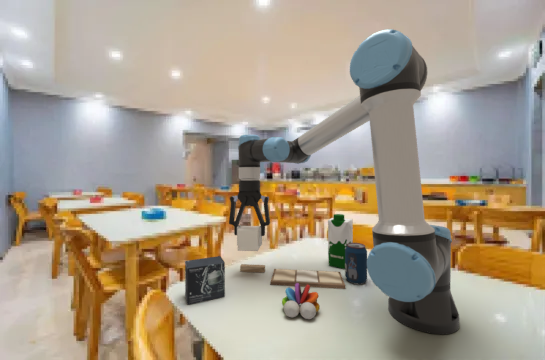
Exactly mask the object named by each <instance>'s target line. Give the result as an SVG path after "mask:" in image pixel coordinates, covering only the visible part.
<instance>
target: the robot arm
mask: <svg viewBox="0 0 545 360" xmlns="http://www.w3.org/2000/svg"><path fill="white" fill-rule="evenodd" d="M349 75H350V78H351V80H352V82H353V84H355V86H357V87H358V89H359V90H358V91H359V96H357V97H355V98H354V99H353V100H351V101H350V102H348V103H347V104H345V105H344V106H342V107H341V108H340V109H338V110H336V111H335V112H333V113H332V114H330V115H329V116H328V117H326V118H324V119H323V120H321V121H320V122H319V123H318V124H316V125H314V126H313V127H311V128H310V129H309V130H307V131H306V132H304V133H303V134H301V135H300V136H298V137H297V138H296V139H294V140H291V141H290V140H286V139H285V138H284V137H280V136H279V137H276V136H273V137H268V138H262V139H261V137H260V135H257V134H242V135H240V136H239V137H238V146H237V147H238V179H239V181H238V193H237V195H235V196H234V195H232V196H230V197H229V200H230V210H229V217H228V224H229V225H232V226H233V228H234V229H233V233H234V234H233V235H234V236H237V230H238V229H239V228H241V227H242V225H241V224H240V222H241V219H242V218H243V217H242V216H243V215H244V211H245V210H246V209H245V208H246V207H253V209H254V212H255V214H256V216H257V220H258V222H259V224H260V225H258V226H259V246H260V247H262V245H263V237H264V236H266V235H265V234H266V227H267V226H269V225H270V224H271V218H270V209H269V208H270V207H269V200H270V197H269V196H264V195H263V194H262V193H261V181H260V179H261V163H290V164H298V165H299V164H305V163H306V162H308V161H309V160H310V158H311V157H312V155H313V154H315V153H317V152H319V151H320V150H322V149H323V148H326V146H329V145H330V144H332V143H334V142H336V141H337V140H339V139H340V138H342V137H344V136H346V135H347V134H349V133H351V132H353V131H354V130H356V129H358V128H359V127H361V126H363V125H365V124H366V123H368V122H369V126H370V127H369V129H370V137H371V138H370V140H371V148H372V150H371V151H372V159H373V170H374V182H375V192H376V195H375V196H376V202H377V203H376V206H377V215H378V217H377V218H378V221H377V222H376V223H375V224H374V226H373V227H372V229H371V230H372V231H371V232H372V233H371V234H372V244H373V247H372V249H371V250H370V251H369V253H368V254H367V274H368V276H369V277H370V279H371V282H372V283H373V284H374V286H376V287H377V288H378V289H379V290H380V291H381V292H382V293H383V294H384V295H386V296H387V297H388V300H387V301H388V302H387V310H388V312H389V314H390V315H391V316H392V317H393V318H394V319H395V320H396V321H398V322H400V323H401V324H403V325H404V326H407V327H408V328H411V329H413V330H416V331H420V332H423V333H428V334H431V335H449V334H454V333H455V332H458V330H459V329H460V314H459V311H458V308H457V306H456V303H455V300H454V296H453V294H452V291H451V279H452V277H451V274H452V273H451V271H452V270H451V267H452V266H451V264H452V262H451V261H452V260H451V259H452V258H451V255H452V254H451V253H452V252H451V251H452V248H451V247H452V241H453V240H452V236H451V235H452V234H451V230H450V228H448V227H445V226H442V225H435V224H429V223H428V222H427V221H426V220H425V209H424V201H423V191H422V179H421V170H420V169H421V167H420V161H419V160H420V159H419V151H418V141H417V140H418V138H417V130H416V128H417V127H416V120H415V119H416V118H415V110H414V109H415V108H414V104H415V103H416V102H417V101H418V100H419V99H420V98H421V95H422V92H421V91H422V89H423V88H424V86H425V84H426V82H427V79H428V65H427V63H426V61H425V58H423V57H422V55H420V53H419V52H418V51H417V49H416V48H415V47H414V45H413V43H412V40H411V39H410V38H409V37H408V36H407V35H405V34H404V33H403V32H401V31H399V30H397V29H394V28H393V29H392V28H391V29H390V28H388V29H382V30H379V31H376V32H374V33H373V34H370V35H369V36H367V37H366V38H365V39H364V40H363V41H362V42H361V43H360V44H359V45H358V47H357V49H356V50H355V51H354V53H353V55H352V57H351V59H350V63H349ZM238 200H239V202H240V205H239V206H240V207H239V210H238V212H237V215H236V207H237V206H236V205H237V202H238ZM260 200H261V201H262V203H263V211H264V217H265V220H264V217H263V213H262V212H261V208H260V205H259V202H260ZM235 217H236V218H235ZM236 246H238V239H237V238H236Z"/></svg>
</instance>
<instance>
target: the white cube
mask: <svg viewBox="0 0 545 360" xmlns="http://www.w3.org/2000/svg"><path fill="white" fill-rule="evenodd" d="M259 226H260V225H241V228H239V229H238V230H237V235H236V240H237V239H238V245H237V251H239V252H241V251H242V252H243V251H244V252H258V251H259V250H260V249H261V246H259Z"/></svg>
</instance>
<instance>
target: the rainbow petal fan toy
mask: <svg viewBox="0 0 545 360" xmlns="http://www.w3.org/2000/svg"><path fill="white" fill-rule="evenodd" d="M310 289H311V287H310V286H309V285H306V286H305V287H303V290H302V289H301V286H300V284H299V283H296V284H295V286H294V289H293V288H291V287H286V288H285V292H284V293H285V295H286V296H285V297H283V298H282V300H281V304H282V306H283V312H284V313H285V315H286V317H289V318H296V317H297V316H299V314H300V315H301V316H302V318H304V319H305V320H311V319H313V318H315V316H316V314H317V312H318V311H319V310H320V304H319V302H318V298H319V293H318V292H316V291H310Z"/></svg>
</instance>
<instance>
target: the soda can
mask: <svg viewBox="0 0 545 360" xmlns="http://www.w3.org/2000/svg"><path fill="white" fill-rule="evenodd" d="M367 258H368V250H367V248H366V245H365V244H364V243H360V242H353V243H348V244H347V247H346V249H345V269H344V276H345V278H346V281H347V282H349V283H351V284H354V285H363V284H365V283H366V281H367V280H368V270H367Z"/></svg>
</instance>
